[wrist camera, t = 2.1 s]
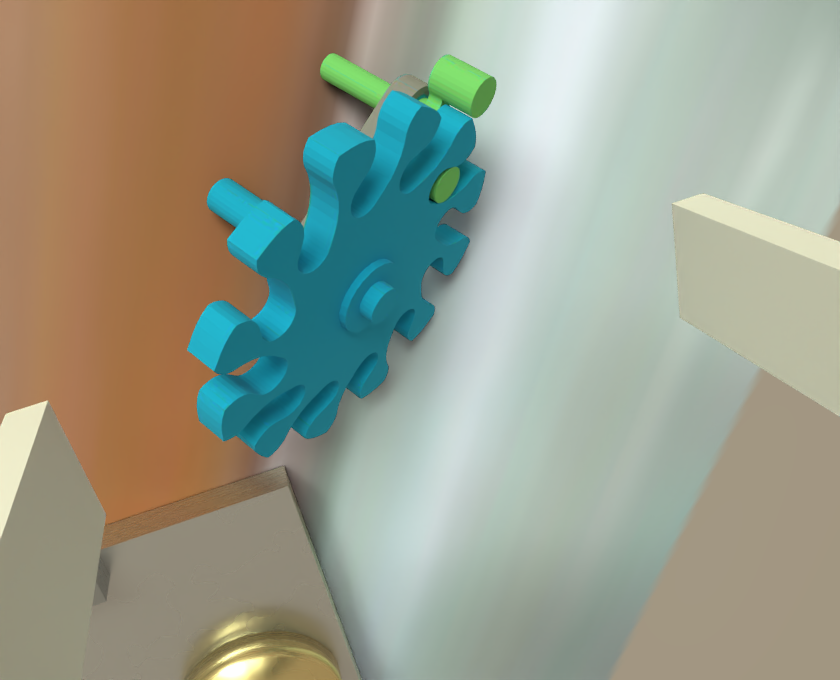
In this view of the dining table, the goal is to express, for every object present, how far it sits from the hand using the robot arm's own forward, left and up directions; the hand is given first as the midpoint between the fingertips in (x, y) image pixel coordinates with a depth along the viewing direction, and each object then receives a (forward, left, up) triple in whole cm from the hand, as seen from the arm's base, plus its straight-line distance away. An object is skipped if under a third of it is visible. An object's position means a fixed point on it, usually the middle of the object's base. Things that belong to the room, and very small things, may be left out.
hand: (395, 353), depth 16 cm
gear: (0, 0, -8) cm, 8 cm away
